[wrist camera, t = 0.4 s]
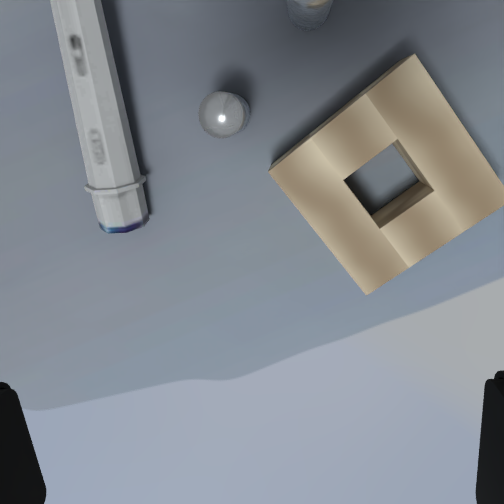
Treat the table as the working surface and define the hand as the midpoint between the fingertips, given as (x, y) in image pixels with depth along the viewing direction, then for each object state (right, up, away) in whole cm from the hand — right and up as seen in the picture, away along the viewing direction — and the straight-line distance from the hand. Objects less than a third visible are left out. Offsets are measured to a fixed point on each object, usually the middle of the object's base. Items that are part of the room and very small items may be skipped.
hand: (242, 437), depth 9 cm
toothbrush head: (-11, +18, +25) cm, 33 cm away
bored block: (+10, +10, +26) cm, 29 cm away
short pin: (-1, +14, +25) cm, 29 cm away
